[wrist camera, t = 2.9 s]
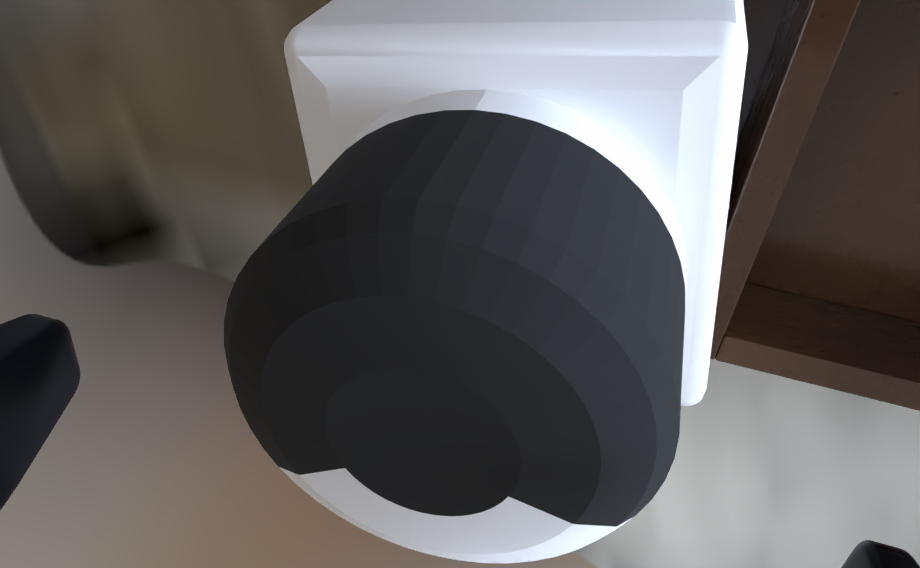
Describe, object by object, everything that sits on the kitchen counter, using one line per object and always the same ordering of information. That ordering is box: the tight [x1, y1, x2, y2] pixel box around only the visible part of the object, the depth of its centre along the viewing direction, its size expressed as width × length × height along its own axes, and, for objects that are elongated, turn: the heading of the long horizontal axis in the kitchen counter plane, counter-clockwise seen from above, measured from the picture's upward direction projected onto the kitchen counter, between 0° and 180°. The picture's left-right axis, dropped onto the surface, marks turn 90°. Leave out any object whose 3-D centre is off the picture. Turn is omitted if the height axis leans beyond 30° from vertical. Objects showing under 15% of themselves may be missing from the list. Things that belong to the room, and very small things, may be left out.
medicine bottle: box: [224, 0, 748, 563], centre depth 14 cm, size 7×7×12 cm
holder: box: [710, 0, 920, 410], centre depth 17 cm, size 19×10×3 cm, turn 84°
